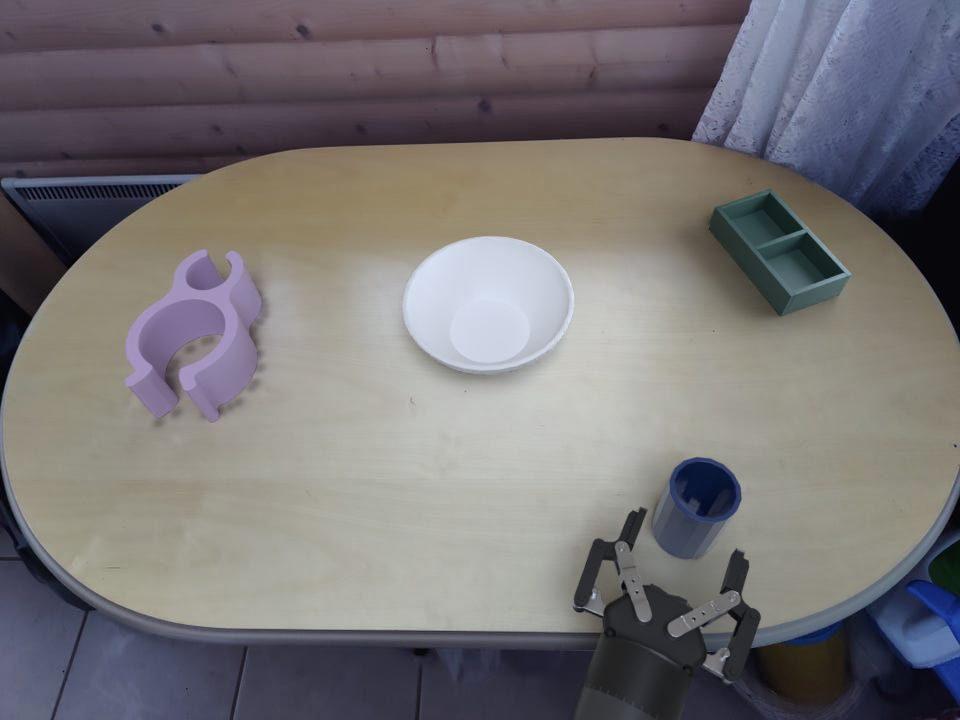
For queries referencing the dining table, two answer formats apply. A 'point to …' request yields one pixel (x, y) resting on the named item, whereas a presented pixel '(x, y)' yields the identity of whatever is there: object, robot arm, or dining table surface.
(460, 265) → the bowl
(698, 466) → the cup
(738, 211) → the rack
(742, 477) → the dining table surface
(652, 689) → the robot arm
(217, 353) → the clip
